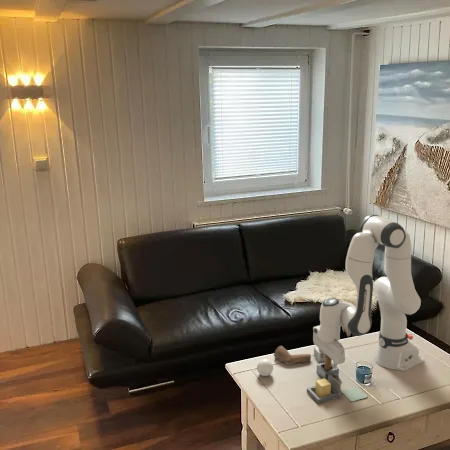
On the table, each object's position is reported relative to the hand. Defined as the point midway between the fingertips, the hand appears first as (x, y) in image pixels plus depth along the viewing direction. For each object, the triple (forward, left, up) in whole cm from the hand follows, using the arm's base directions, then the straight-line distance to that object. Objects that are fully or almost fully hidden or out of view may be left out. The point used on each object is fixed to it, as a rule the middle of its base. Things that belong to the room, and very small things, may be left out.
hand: (328, 362), depth 229 cm
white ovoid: (+27, -11, -6) cm, 30 cm away
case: (+10, +12, -6) cm, 17 cm away
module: (+10, +12, -6) cm, 17 cm away
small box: (-5, -13, -6) cm, 15 cm away
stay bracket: (0, 0, -6) cm, 6 cm away
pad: (-2, +17, -6) cm, 18 cm away
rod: (0, 0, -6) cm, 6 cm away
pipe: (+8, -17, -7) cm, 20 cm away
